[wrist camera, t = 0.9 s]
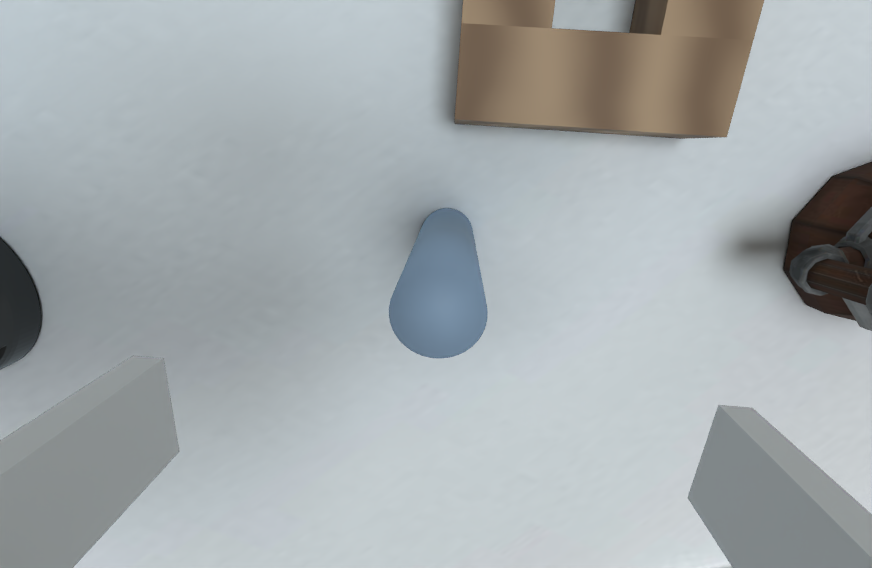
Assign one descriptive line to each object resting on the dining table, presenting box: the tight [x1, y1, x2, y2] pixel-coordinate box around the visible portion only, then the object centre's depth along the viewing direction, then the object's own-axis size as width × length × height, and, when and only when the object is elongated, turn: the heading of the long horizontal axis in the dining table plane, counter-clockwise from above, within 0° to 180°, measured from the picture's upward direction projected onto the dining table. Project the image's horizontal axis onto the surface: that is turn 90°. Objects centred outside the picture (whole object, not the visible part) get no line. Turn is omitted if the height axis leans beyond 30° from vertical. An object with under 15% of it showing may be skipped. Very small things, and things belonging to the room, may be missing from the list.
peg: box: [389, 208, 487, 358], centre depth 24 cm, size 4×4×16 cm
